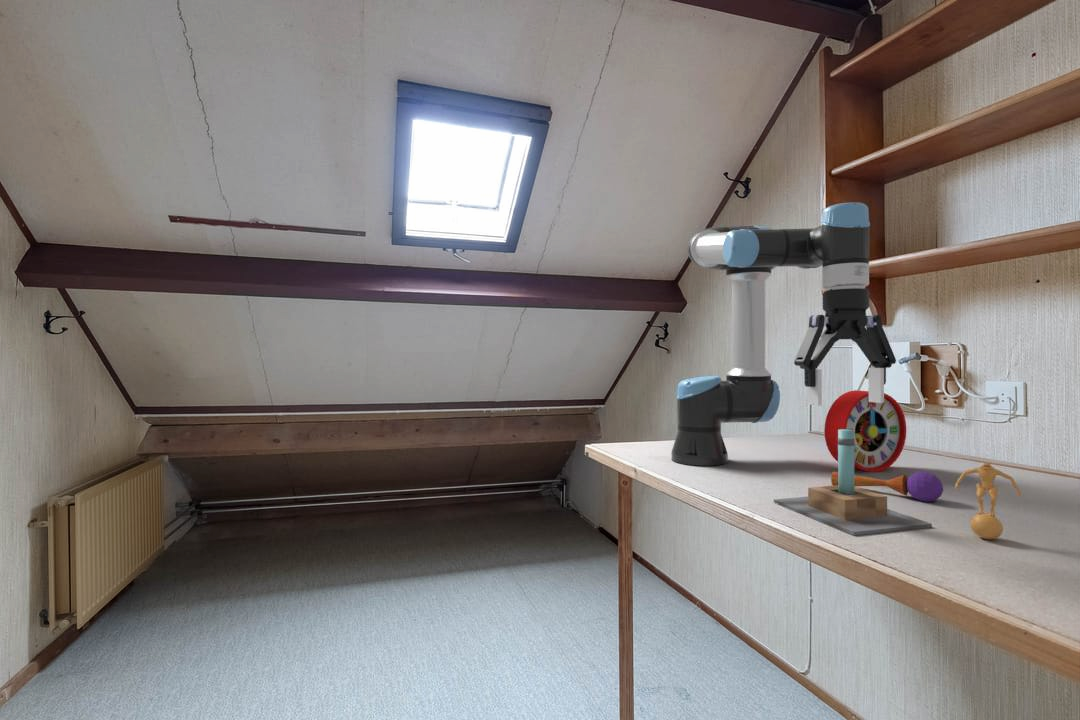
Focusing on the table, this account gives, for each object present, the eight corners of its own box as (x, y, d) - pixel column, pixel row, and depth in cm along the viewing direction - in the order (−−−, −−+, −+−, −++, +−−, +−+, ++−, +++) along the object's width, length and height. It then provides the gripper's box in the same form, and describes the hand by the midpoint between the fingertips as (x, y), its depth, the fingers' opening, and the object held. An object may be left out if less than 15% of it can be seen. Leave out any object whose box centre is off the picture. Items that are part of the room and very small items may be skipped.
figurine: (952, 536, 86) (952, 462, 86) (956, 526, 91) (956, 457, 91) (1021, 548, 81) (1021, 469, 81) (1021, 537, 85) (1021, 463, 85)
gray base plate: (773, 502, 107) (773, 482, 106) (840, 496, 110) (840, 476, 110) (853, 535, 87) (853, 510, 87) (931, 527, 91) (931, 503, 91)
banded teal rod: (834, 509, 100) (834, 429, 99) (846, 508, 100) (846, 429, 100) (845, 513, 97) (845, 431, 97) (858, 512, 98) (858, 431, 97)
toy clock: (843, 475, 129) (843, 393, 128) (824, 470, 134) (824, 391, 134) (906, 469, 134) (906, 390, 134) (885, 464, 140) (885, 389, 140)
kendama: (838, 466, 122) (945, 473, 107) (839, 492, 121) (947, 503, 106) (828, 464, 118) (937, 472, 103) (828, 492, 117) (939, 503, 102)
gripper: (801, 285, 92) (802, 408, 92) (918, 287, 97) (918, 403, 98) (773, 290, 99) (773, 404, 99) (883, 292, 105) (883, 399, 105)
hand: (845, 403), depth 98 cm, fingers open, 13 cm apart
